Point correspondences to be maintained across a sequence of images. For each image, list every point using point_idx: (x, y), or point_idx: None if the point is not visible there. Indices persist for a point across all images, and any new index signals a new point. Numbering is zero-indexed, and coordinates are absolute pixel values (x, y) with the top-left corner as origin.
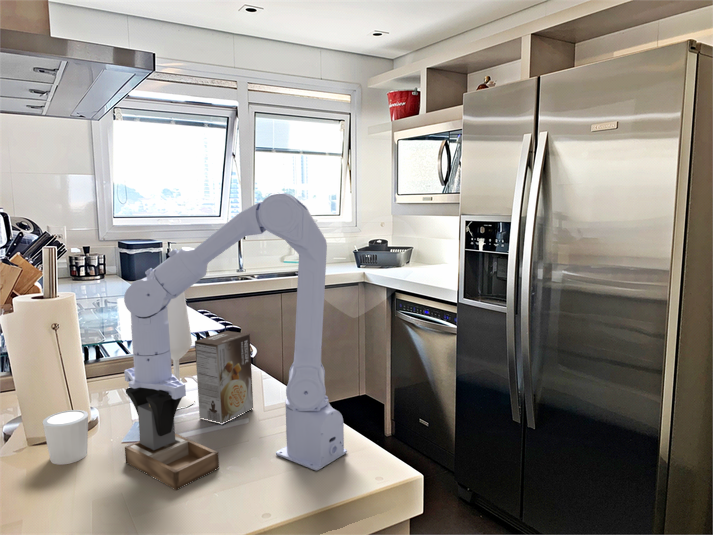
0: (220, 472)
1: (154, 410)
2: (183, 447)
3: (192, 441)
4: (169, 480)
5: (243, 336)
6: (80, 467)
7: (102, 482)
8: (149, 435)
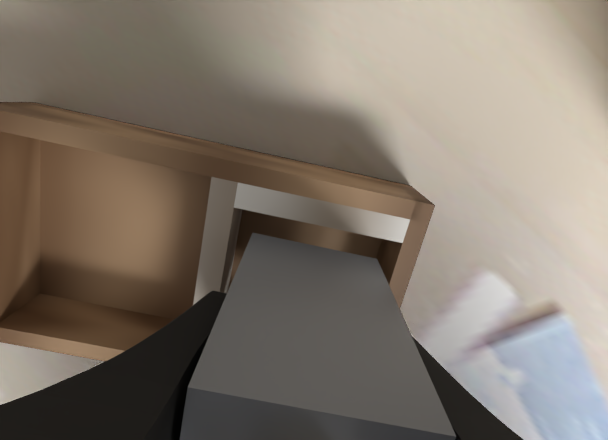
0: None
1: (101, 399)
2: None
3: None
4: (61, 113)
5: None
6: (585, 68)
7: (377, 9)
8: (280, 270)
